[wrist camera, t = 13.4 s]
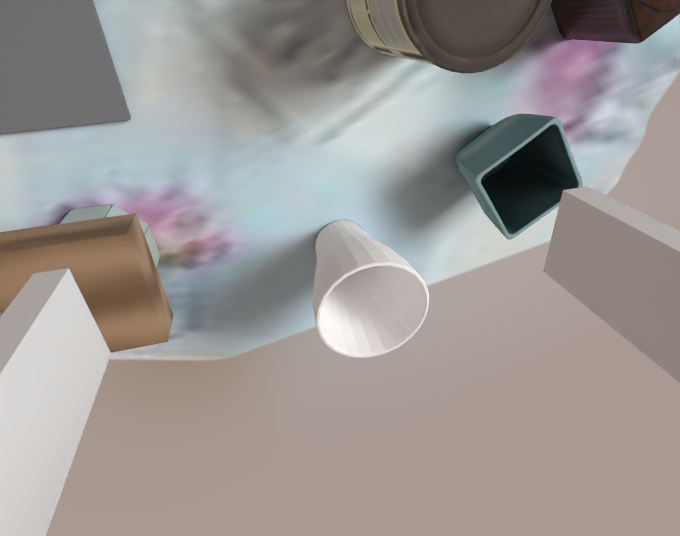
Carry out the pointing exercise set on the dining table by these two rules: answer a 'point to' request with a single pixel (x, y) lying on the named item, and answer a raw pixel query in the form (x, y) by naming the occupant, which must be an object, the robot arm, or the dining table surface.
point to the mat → (55, 67)
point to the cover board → (95, 274)
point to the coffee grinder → (613, 18)
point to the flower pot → (519, 170)
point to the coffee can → (448, 29)
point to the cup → (364, 293)
